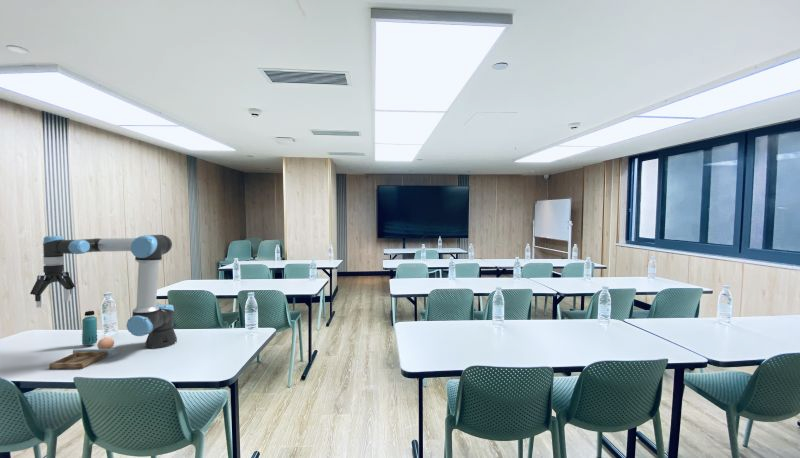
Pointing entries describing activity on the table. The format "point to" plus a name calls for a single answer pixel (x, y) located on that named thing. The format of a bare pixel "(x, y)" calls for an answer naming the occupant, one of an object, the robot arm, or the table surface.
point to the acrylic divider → (109, 351)
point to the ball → (105, 343)
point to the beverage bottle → (89, 329)
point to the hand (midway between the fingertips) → (53, 304)
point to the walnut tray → (78, 360)
